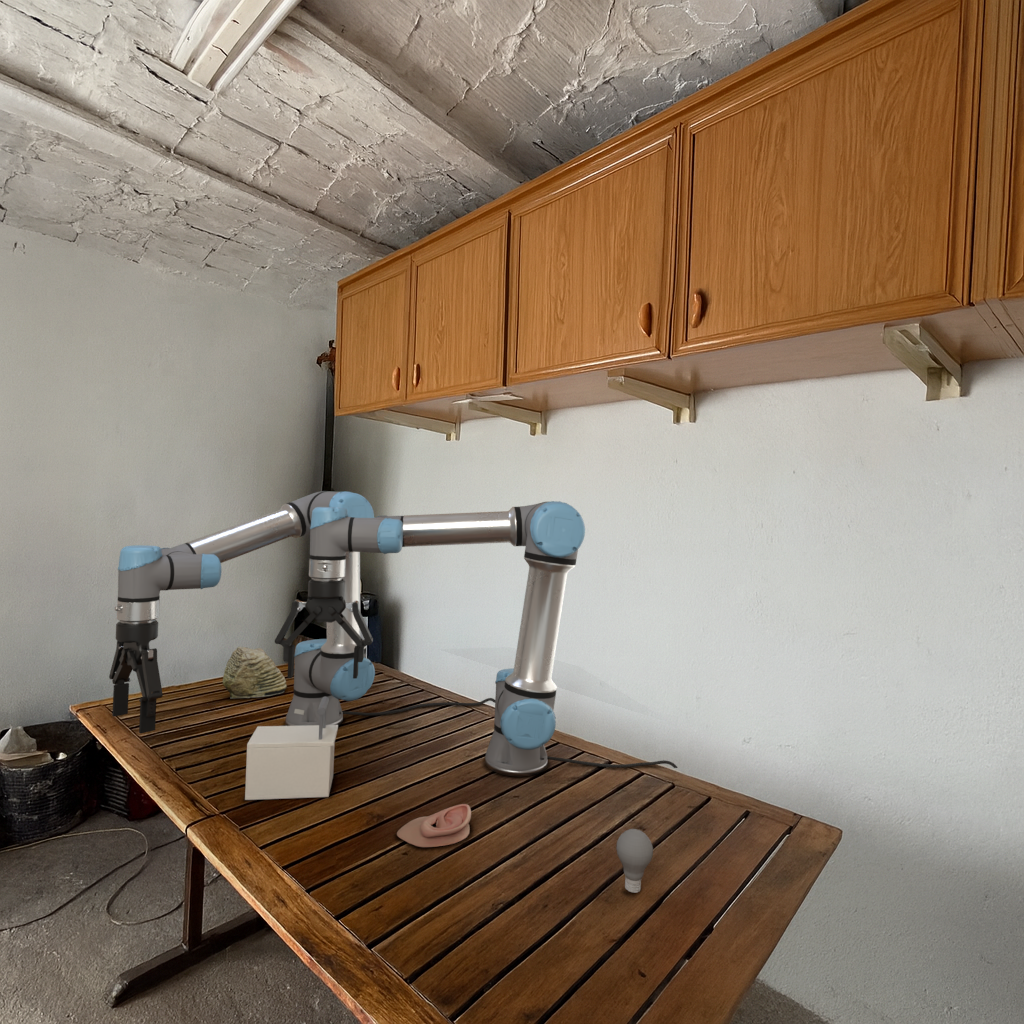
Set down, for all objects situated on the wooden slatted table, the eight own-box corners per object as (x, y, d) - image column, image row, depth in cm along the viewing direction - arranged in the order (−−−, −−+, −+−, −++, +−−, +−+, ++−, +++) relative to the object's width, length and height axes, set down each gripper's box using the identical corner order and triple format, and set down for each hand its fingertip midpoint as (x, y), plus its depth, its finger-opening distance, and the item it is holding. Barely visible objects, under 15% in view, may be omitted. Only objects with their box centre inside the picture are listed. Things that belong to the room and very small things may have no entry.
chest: (333, 776, 144) (335, 728, 144) (328, 797, 134) (330, 746, 134) (255, 778, 141) (257, 730, 141) (244, 800, 131) (246, 748, 131)
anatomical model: (391, 821, 117) (413, 793, 128) (390, 842, 117) (412, 813, 128) (460, 832, 114) (476, 802, 125) (459, 853, 114) (475, 822, 126)
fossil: (218, 695, 195) (220, 647, 195) (278, 685, 208) (279, 640, 207) (228, 703, 189) (230, 653, 188) (289, 692, 201) (290, 645, 201)
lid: (338, 728, 144) (339, 694, 144) (333, 746, 134) (335, 709, 134) (257, 730, 141) (258, 695, 140) (246, 748, 131) (248, 710, 130)
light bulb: (610, 879, 108) (613, 822, 108) (644, 879, 109) (647, 822, 109) (619, 902, 102) (622, 840, 102) (655, 901, 103) (658, 840, 103)
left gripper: (94, 613, 135) (90, 712, 136) (143, 632, 120) (138, 744, 120) (132, 610, 141) (128, 704, 142) (184, 628, 126) (179, 734, 126)
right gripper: (262, 579, 131) (258, 681, 131) (384, 582, 134) (380, 681, 135) (270, 574, 138) (267, 671, 139) (386, 577, 142) (383, 672, 142)
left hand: (133, 723), depth 131 cm, fingers open, 13 cm apart
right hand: (323, 676), depth 137 cm, fingers open, 13 cm apart
